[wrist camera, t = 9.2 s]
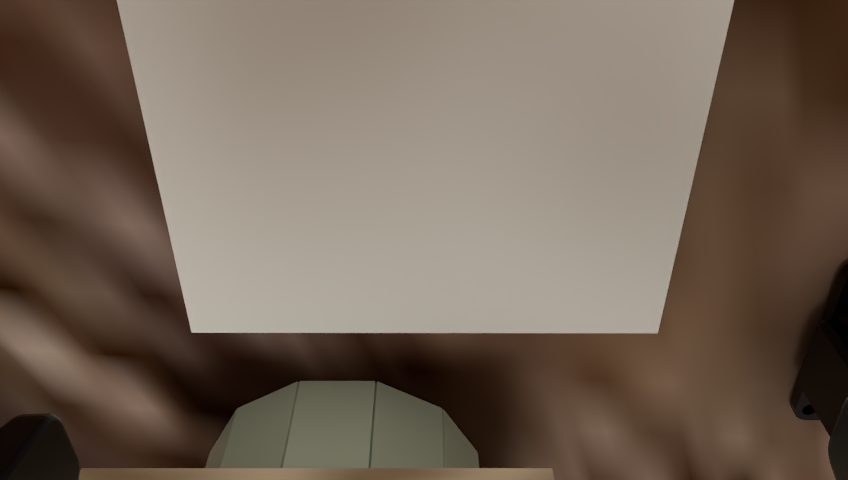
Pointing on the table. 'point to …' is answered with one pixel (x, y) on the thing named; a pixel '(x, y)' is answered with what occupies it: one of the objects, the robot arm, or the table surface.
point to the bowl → (341, 430)
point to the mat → (425, 158)
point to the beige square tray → (316, 474)
